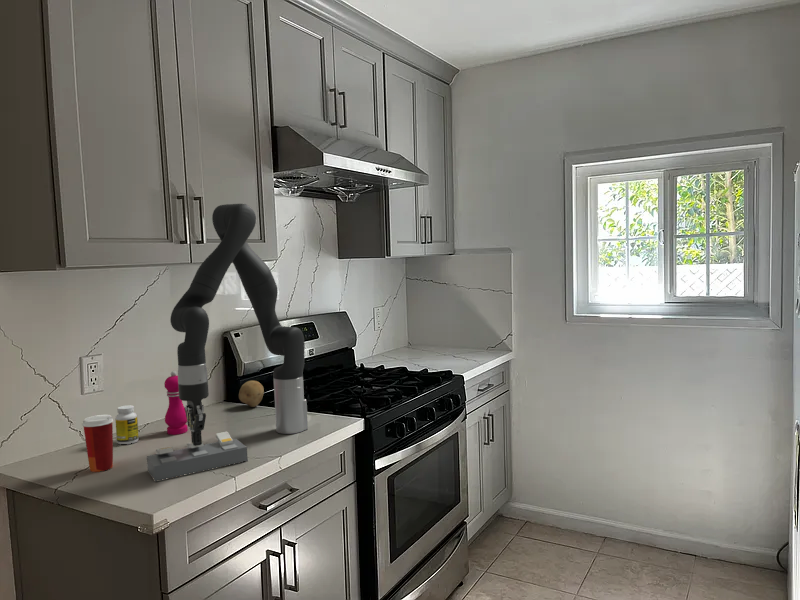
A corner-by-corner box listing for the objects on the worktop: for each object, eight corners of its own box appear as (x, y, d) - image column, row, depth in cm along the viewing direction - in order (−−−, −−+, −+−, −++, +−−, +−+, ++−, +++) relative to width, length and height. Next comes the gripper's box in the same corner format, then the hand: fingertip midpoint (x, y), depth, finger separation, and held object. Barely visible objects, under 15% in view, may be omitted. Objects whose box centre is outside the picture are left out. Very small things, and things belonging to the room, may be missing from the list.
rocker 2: (227, 435, 173) (227, 431, 173) (232, 444, 169) (233, 440, 169) (215, 437, 172) (215, 433, 171) (221, 446, 168) (221, 442, 167)
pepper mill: (164, 436, 193) (160, 374, 191) (166, 430, 200) (162, 370, 198) (188, 433, 195) (184, 372, 193) (190, 427, 202) (186, 368, 200)
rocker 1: (168, 451, 165) (168, 446, 165) (172, 451, 160) (172, 446, 161) (156, 454, 163) (155, 449, 163) (160, 454, 159) (159, 449, 159)
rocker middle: (199, 445, 169) (198, 440, 169) (203, 445, 165) (203, 440, 165) (187, 447, 167) (186, 443, 167) (191, 448, 163) (191, 443, 163)
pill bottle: (130, 445, 185) (128, 409, 184) (112, 444, 186) (109, 409, 185) (143, 439, 191) (140, 404, 190) (125, 438, 192) (123, 404, 191)
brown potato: (247, 411, 220) (246, 384, 219) (234, 407, 226) (233, 381, 225) (269, 406, 226) (267, 379, 226) (255, 402, 233) (254, 377, 232)
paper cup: (121, 462, 170) (118, 413, 168) (109, 472, 162) (105, 421, 161) (93, 464, 169) (89, 414, 168) (79, 474, 162) (75, 422, 161)
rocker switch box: (236, 451, 175) (235, 437, 175) (247, 461, 167) (246, 445, 167) (147, 470, 163) (146, 454, 162) (155, 481, 154) (154, 465, 154)
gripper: (214, 382, 159) (218, 447, 160) (200, 375, 171) (204, 436, 172) (184, 386, 155) (188, 453, 156) (172, 379, 167) (176, 441, 168)
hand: (196, 444), depth 164 cm, fingers closed
